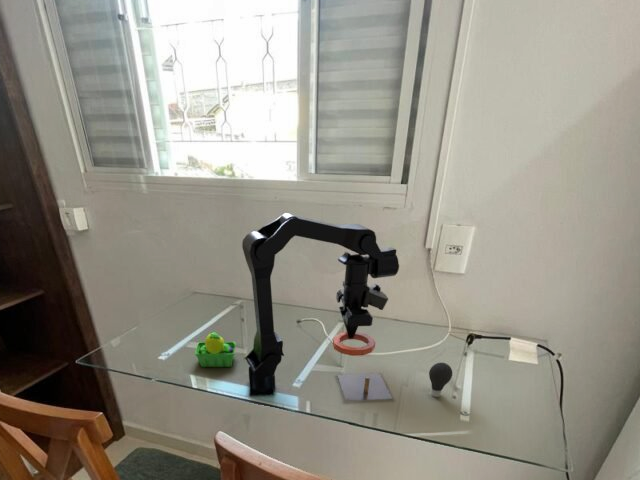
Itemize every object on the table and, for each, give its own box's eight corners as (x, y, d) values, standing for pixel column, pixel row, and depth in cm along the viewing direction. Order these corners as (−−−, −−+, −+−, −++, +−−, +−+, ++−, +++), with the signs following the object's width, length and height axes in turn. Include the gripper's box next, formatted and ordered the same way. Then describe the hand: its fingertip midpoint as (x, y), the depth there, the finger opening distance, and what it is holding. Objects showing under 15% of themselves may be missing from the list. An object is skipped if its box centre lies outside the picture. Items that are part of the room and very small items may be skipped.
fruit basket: (237, 356, 128) (234, 322, 121) (235, 371, 121) (232, 335, 114) (200, 357, 128) (195, 322, 121) (196, 371, 121) (190, 336, 114)
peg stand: (345, 402, 108) (347, 386, 105) (337, 376, 118) (338, 361, 115) (392, 400, 109) (395, 384, 106) (379, 375, 119) (382, 359, 116)
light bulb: (446, 393, 111) (455, 360, 105) (445, 404, 107) (454, 371, 101) (424, 389, 113) (432, 357, 107) (423, 400, 109) (430, 367, 103)
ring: (336, 356, 105) (336, 350, 104) (330, 337, 114) (330, 332, 113) (378, 355, 106) (379, 349, 105) (369, 336, 115) (369, 331, 114)
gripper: (397, 292, 97) (387, 352, 106) (378, 268, 112) (371, 322, 121) (350, 293, 96) (345, 353, 106) (338, 268, 111) (334, 322, 121)
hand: (350, 336), depth 113 cm, fingers closed on ring, 2 cm apart
